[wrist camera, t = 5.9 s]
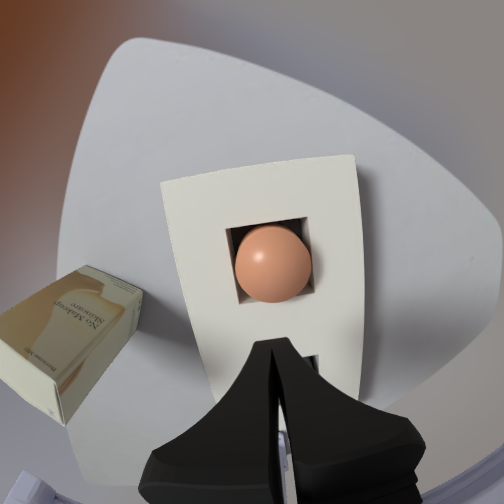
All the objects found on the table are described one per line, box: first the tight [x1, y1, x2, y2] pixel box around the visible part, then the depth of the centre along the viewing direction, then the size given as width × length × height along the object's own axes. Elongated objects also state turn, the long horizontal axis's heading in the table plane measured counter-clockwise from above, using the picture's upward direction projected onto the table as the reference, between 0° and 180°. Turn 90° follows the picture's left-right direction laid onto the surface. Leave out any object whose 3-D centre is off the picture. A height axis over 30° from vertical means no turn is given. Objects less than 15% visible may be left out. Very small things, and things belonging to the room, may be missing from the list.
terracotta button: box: [235, 223, 311, 303], centre depth 17 cm, size 4×4×3 cm
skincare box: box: [0, 265, 143, 426], centre depth 15 cm, size 6×4×12 cm
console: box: [160, 154, 364, 430], centre depth 19 cm, size 22×12×3 cm, turn 9°
